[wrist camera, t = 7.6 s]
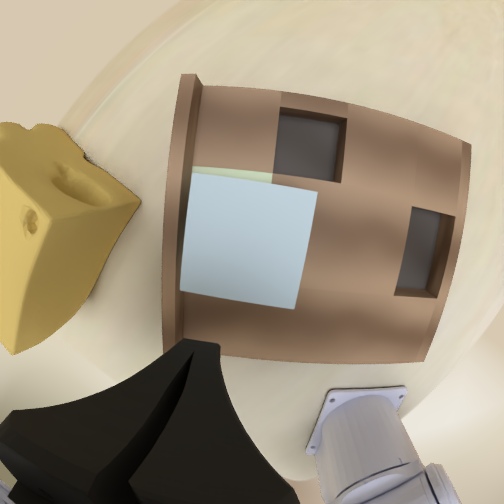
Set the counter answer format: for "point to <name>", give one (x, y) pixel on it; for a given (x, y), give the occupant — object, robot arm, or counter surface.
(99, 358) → the counter surface
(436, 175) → the board
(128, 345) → the counter surface
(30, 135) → the cheese
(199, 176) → the blue block
